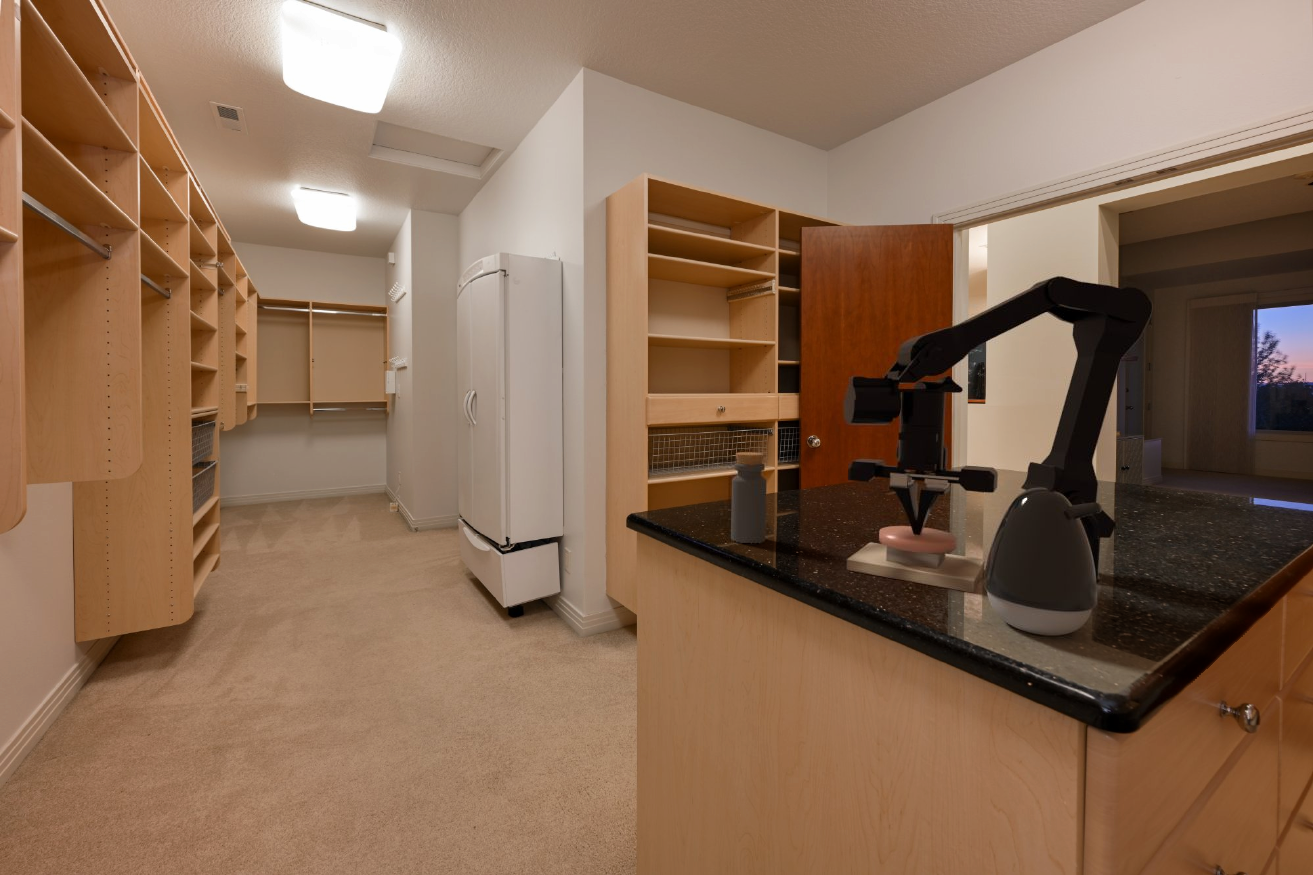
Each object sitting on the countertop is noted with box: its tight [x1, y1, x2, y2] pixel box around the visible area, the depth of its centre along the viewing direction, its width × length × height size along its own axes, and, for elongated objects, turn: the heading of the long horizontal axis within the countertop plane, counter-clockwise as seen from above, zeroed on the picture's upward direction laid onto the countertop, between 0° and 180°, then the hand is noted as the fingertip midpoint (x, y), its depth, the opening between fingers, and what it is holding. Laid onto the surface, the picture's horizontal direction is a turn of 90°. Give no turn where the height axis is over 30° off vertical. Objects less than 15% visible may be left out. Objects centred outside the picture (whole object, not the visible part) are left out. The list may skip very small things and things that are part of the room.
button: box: [878, 525, 957, 554], centre depth 82 cm, size 10×10×3 cm
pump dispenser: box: [983, 488, 1103, 636], centre depth 62 cm, size 10×10×15 cm
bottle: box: [730, 451, 767, 545], centre depth 98 cm, size 6×6×15 cm
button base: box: [846, 542, 986, 593], centre depth 82 cm, size 16×12×4 cm
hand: (917, 534), depth 82 cm, fingers closed, pressing on button
